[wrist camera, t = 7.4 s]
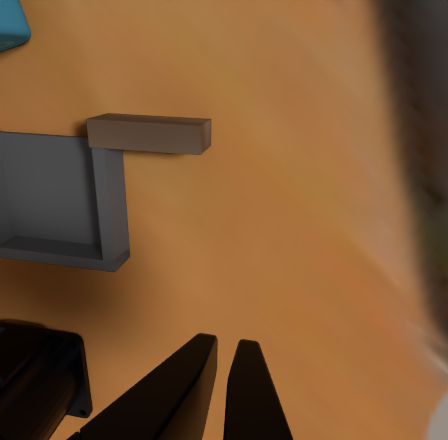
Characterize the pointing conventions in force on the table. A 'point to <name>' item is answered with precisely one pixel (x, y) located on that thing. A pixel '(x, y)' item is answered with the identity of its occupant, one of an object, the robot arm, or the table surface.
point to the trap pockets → (62, 202)
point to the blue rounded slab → (12, 24)
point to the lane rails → (150, 133)
